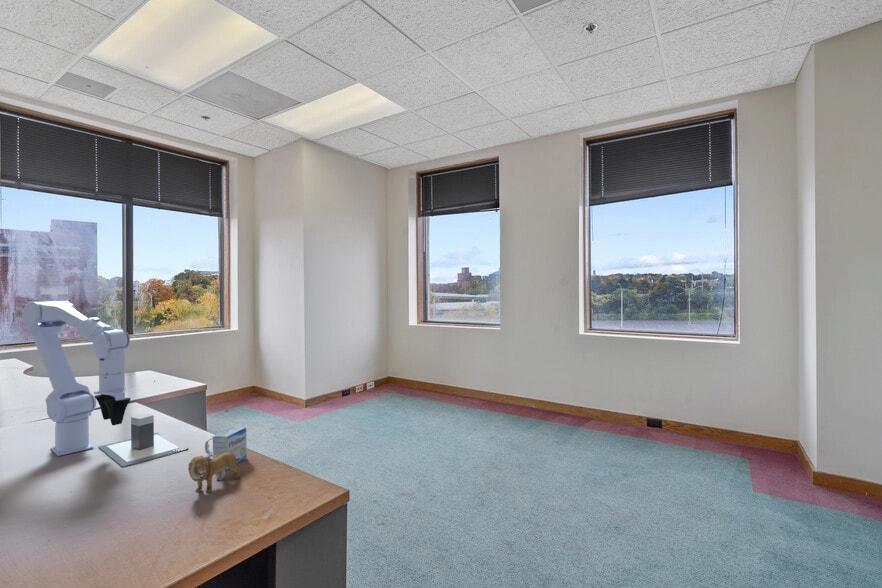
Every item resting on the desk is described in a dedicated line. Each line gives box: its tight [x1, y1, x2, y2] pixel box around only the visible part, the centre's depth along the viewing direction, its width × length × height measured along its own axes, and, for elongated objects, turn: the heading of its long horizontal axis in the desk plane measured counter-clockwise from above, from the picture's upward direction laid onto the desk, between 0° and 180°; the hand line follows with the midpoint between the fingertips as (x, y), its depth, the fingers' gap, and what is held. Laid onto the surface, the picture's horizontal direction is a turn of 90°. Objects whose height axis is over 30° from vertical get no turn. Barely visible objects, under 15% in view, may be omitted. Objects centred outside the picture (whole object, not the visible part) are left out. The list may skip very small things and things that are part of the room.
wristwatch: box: [204, 437, 213, 457], centre depth 122 cm, size 3×5×5 cm, turn 89°
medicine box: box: [212, 426, 248, 471], centre depth 116 cm, size 8×4×9 cm, turn 168°
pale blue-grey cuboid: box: [130, 413, 155, 450], centre depth 126 cm, size 4×4×9 cm
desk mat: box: [97, 432, 182, 468], centre depth 126 cm, size 22×16×1 cm
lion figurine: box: [187, 452, 241, 493], centre depth 103 cm, size 15×5×9 cm, turn 166°
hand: (112, 421), depth 121 cm, fingers open, 7 cm apart
